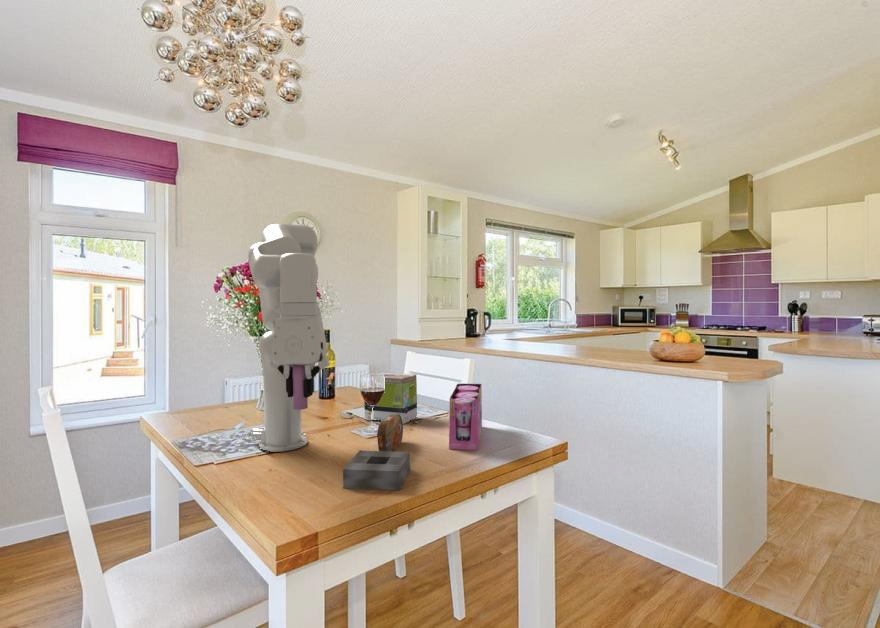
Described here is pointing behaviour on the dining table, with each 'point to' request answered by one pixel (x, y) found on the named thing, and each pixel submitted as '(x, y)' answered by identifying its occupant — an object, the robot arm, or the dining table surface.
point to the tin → (390, 433)
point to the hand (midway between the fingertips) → (300, 395)
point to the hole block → (377, 470)
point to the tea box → (396, 398)
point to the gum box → (465, 417)
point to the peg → (299, 387)
